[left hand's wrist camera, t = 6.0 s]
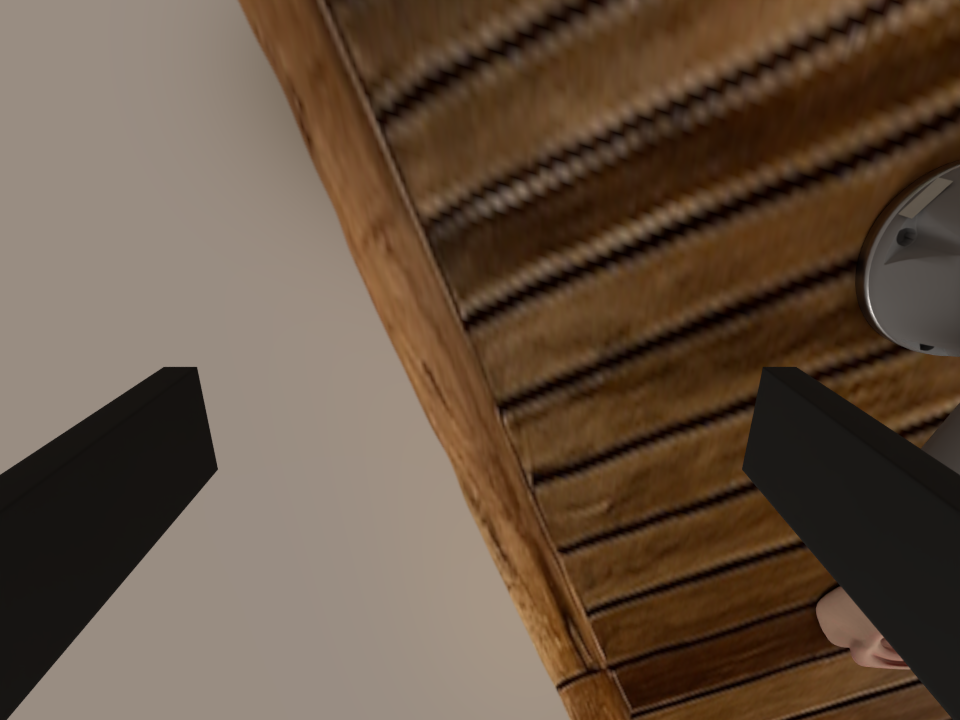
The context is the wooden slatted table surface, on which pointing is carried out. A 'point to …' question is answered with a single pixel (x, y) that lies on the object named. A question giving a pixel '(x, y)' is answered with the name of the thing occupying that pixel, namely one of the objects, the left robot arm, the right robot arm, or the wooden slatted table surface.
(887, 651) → the anatomical model
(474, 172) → the wooden slatted table surface
